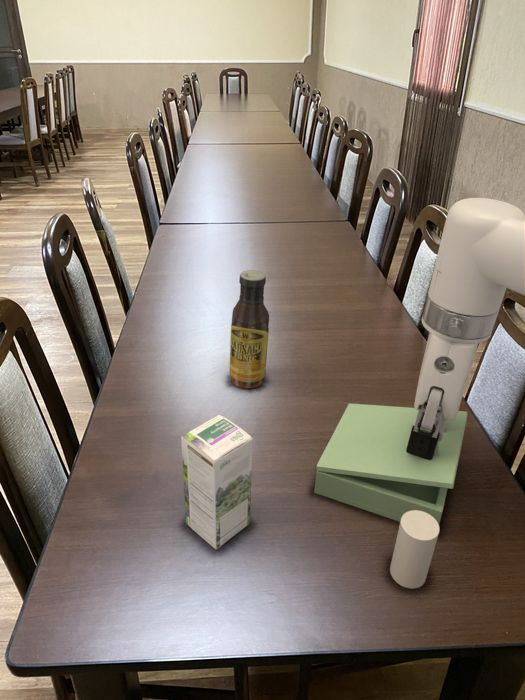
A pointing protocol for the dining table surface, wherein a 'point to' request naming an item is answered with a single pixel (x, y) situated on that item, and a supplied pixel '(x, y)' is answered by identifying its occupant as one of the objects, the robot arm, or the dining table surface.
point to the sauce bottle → (249, 332)
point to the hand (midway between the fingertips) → (424, 437)
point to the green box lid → (391, 446)
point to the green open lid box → (381, 495)
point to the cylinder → (414, 548)
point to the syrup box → (217, 479)
